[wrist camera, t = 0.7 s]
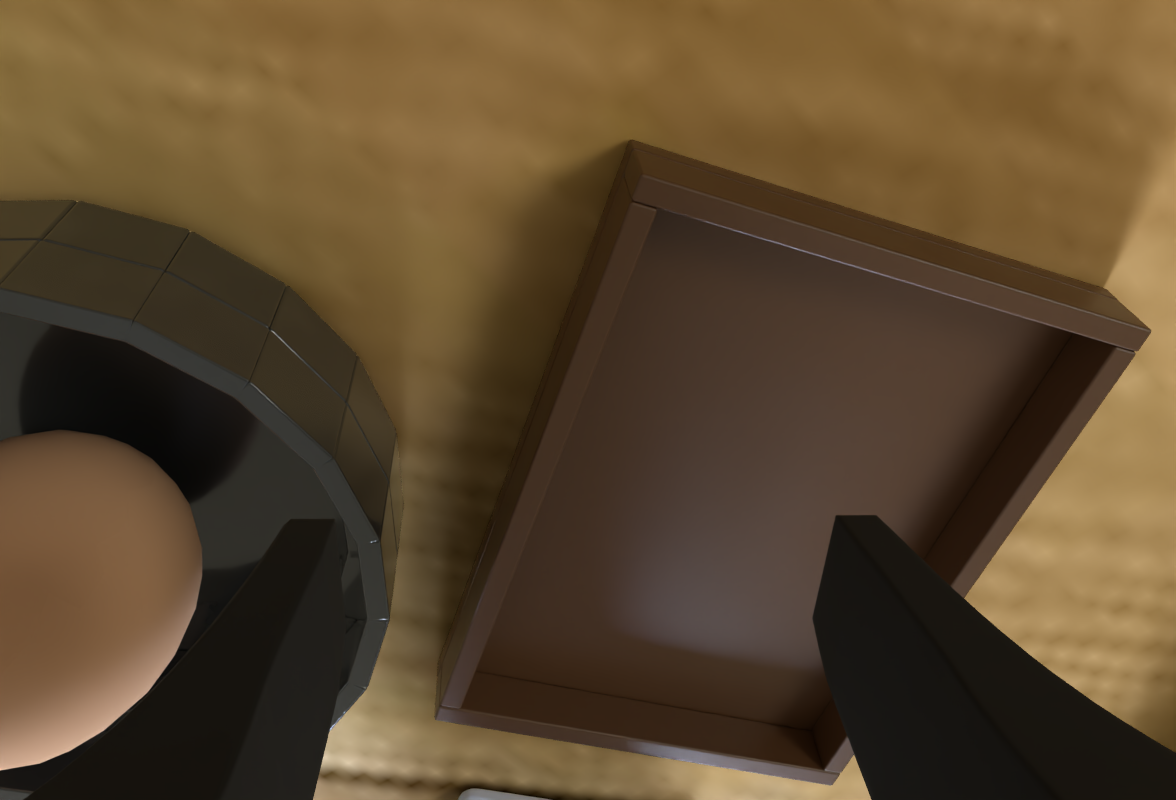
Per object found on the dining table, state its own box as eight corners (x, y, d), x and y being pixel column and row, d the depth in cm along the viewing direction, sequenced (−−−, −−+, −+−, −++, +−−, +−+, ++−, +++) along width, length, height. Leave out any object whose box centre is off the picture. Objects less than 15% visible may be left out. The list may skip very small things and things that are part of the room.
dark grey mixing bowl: (340, 706, 30) (317, 844, 26) (-200, 617, 27) (-313, 759, 23) (467, 293, 23) (461, 400, 19) (-240, 104, 20) (-412, 188, 16)
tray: (814, 729, 32) (832, 786, 31) (437, 662, 30) (433, 721, 28) (1106, 289, 24) (1154, 330, 23) (629, 138, 22) (641, 173, 20)
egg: (-86, 458, 24) (-310, 730, 17) (92, 323, 23) (-78, 566, 16) (114, 605, 27) (-11, 887, 20) (284, 494, 25) (209, 760, 19)
